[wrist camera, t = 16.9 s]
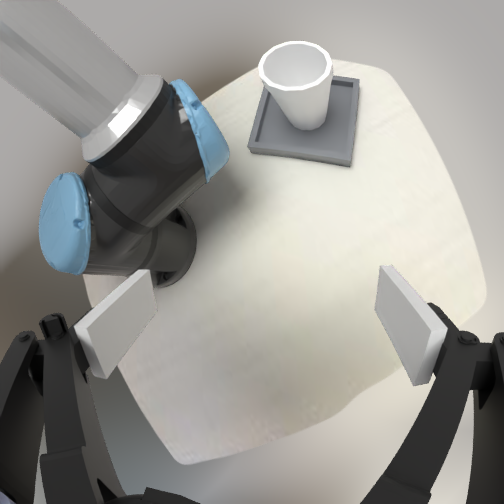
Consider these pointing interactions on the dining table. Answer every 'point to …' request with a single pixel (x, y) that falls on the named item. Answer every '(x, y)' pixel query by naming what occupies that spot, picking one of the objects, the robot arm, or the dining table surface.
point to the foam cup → (299, 81)
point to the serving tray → (309, 141)
